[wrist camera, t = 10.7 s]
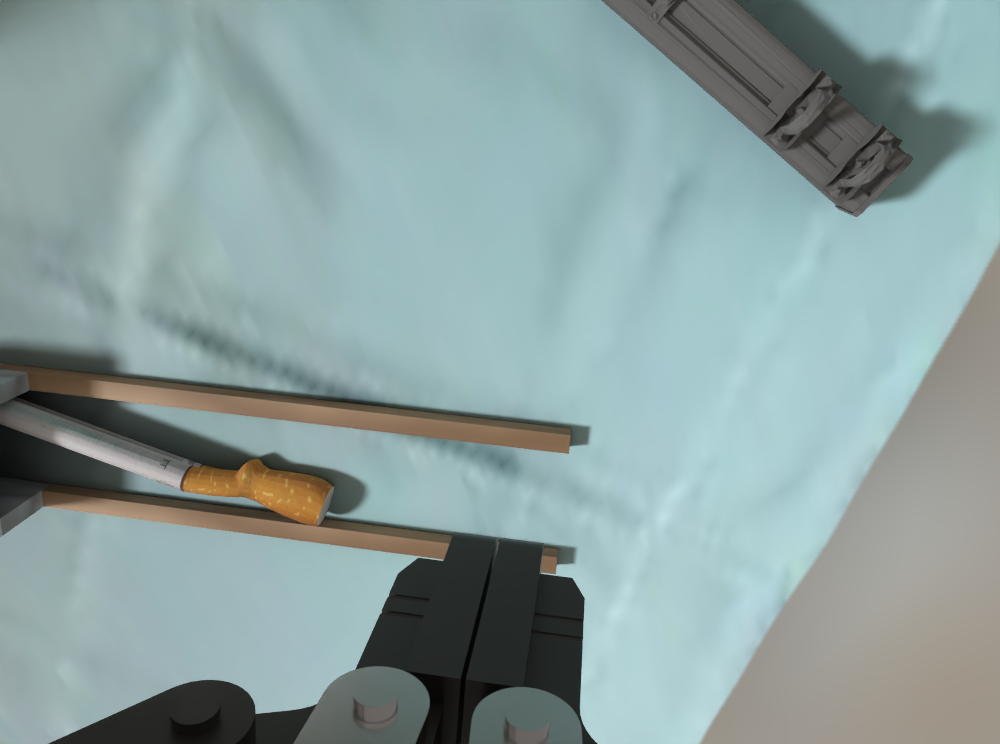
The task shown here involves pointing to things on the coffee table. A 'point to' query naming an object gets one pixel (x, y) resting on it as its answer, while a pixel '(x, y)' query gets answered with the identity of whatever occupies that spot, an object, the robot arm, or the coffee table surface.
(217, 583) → the coffee table surface
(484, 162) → the coffee table surface
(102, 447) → the chisel
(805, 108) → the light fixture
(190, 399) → the holder
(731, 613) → the coffee table surface
